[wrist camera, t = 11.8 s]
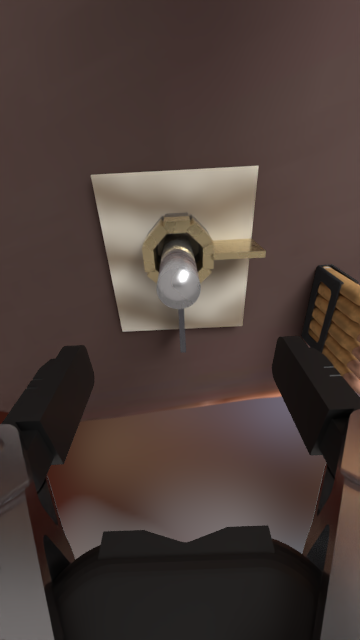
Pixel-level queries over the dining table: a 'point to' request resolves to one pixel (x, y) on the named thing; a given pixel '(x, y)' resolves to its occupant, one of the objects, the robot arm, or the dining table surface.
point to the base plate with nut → (179, 217)
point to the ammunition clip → (335, 321)
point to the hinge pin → (178, 273)
